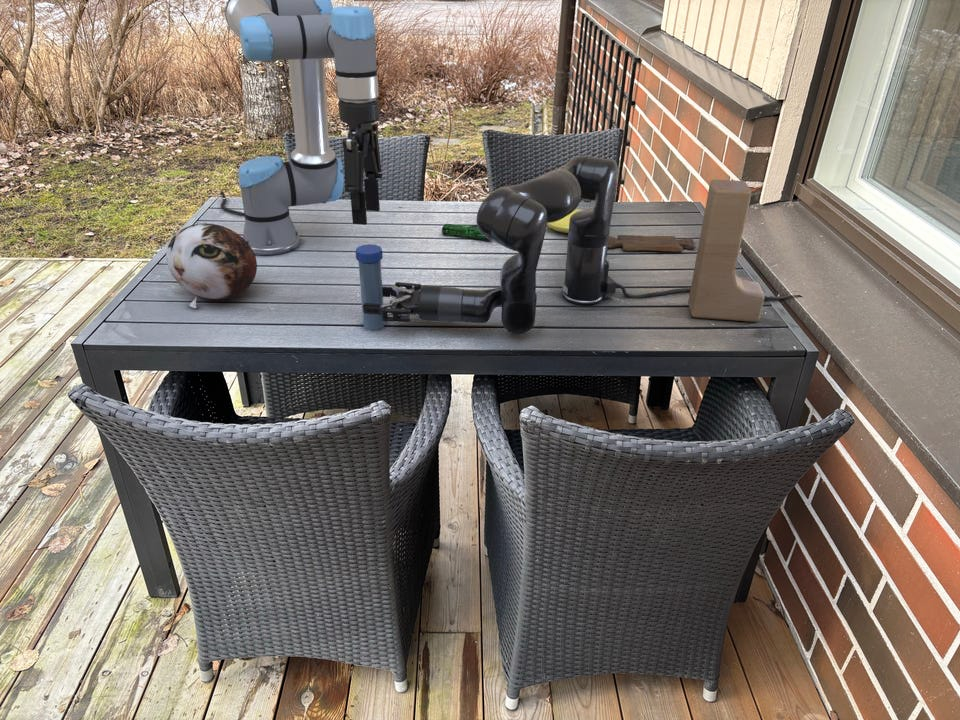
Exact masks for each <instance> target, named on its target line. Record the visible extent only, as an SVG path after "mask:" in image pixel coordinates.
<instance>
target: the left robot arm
mask: <svg viewBox="0 0 960 720" xmlns="http://www.w3.org/2000/svg"><path fill="white" fill-rule="evenodd" d="M224 17H225V21H226V24H227V26H228V27H229V29H230V30H231V32H232V33H233V34H234V35H236V36H237V37H238V38H239V41H240V44H241V50H242V53H243V57H244V58H245V60H247V61H250V62H263V63H266V62H270V61H271V62H272V61H274V62H275V61H287V62H288V63H287V64H288V73H289V74H288V75H289V85H290V95H291V107H292V118H293V119H292V120H293V130H294V141H295V148H294V149H293V150H292V151H291V152H290V161H284V160H283V158H282V157H281V156H279V155H263V156H260V157H255V158H251V159H248V160H247V161H245V162H243V163H242V164H241V165H240V166H239V168H238V170H237V174H238V186H239V188H240V194H241V195H240V196H241V201H242V207H243V212H242V211H237V210H235V209H231V208H227V207H226V206H225V204H226V202H227V200H226V194H225V192H224V191H223V190H221V191H220V192H219V195H220V196H221V197H222V201H221V203H220V208H221V209H222V210H223V211H225V212H228V213H231V214H235V215H239V216H243V217H244V219H245V220H244V226H243V228H244V229H243V235H242V237H243V238H244V239H245V240H246V241H249V242H248V244H249V245H250V247H251V248H252V250H253V252H254V254H255V256H256V255H257V256H275V255H281V254H282V255H283V254H285V253H289V252H291V251H293V250H296V249H297V248H298V247H299V246H300V244H301V241H300V235H299V233H298V231H297V229H296V227H295V225H294V223H293V220H292V218H291V216H290V207H299V206H308V205H318V204H326V203H331V202H336V201H338V200H340V198H341V196H342V194H343V190H344V192H345V193H349V194H350V205H351V218H352V219H351V221H352V224H353V225H363V226H366V225H367V224H368V219H367V218H368V217H367V216H368V215H367V211H368V212H380V211H381V208H380V192H379V191H380V190H379V179H380V180H382V179H383V173H382V163H381V153H380V144H379V125H378V124H377V122H378V121H379V120H380V117H381V116H380V115H381V114H380V102H379V100H378V99H377V98H378V97H379V95H380V94H379V78H378V68H377V66H378V65H377V64H378V63H377V45H376V31H377V30H376V28H377V27H376V26H375V19H374V12H373V10H372V9H371V8H370V7H367V6H358V5H351V6H350V5H346V6H345V5H343V6H336V7H333V3H332V0H227V2H226V4H225V9H224ZM325 59H334V66H335V75H336V76H335V79H334V81H333V82H334V84H335V85H336V89H337V97H338V98H339V101H338V102H337V105H338V116H339V117H338V118H339V120H340V122H341V123H344V124H347V125H348V131H347V137H343V138H342V140H341V142H342V148H343V162H342V160H341V158H340V157H337V156H336V155H337V154H336V152H335V151H334V150H333V149H332V148H331V147H330V135H329V120H328V119H329V118H328V102H327V87H326V86H327V85H326V83H327V82H326V70H325V69H326V67H325ZM343 164H344V165H343ZM364 174H365V175H364ZM364 176H365V178H364ZM223 198H225V199H223Z"/></svg>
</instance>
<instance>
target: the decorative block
mask: <svg viewBox="0 0 960 720" xmlns="http://www.w3.org/2000/svg"><path fill="white" fill-rule="evenodd" d="M751 197H752V190H751V188H750V187H749V185H748V184H747V182H746V181H745V180H734V179H715V178H714V179H711V180H710V182H709V185H708V191H707V195H706V203H705V207H704V213H703V219H702V223H701V224H702V225H701V230H700V234H699V241H698V246H697V252H696V257H695V263H694V268H693V269H694V270H693V274H692V279H691V284H690V285H691V286H690V288H691V290H690V292H689V295H688V301H687V304H688V307H689V311H690V315H691V317H692V318H697V319H698V318H699V319H711V320H725V321H735V322H736V321H737V322H739V321H740V322H751V323H757V322H759V321H760V319H761V314H762V310H763V306H764V302H765V299H764V298H765V297H764V296H765V294H764V291H763V289H762V287H761V285H760V283H759V282H758V281H752V280H748V279H744V278H740V277H739V276H738V275H737V274H736V267H737V263H738V258H739V253H740V250H741V249H740V248H741V244H742V239H743V234H744V231H745V227H746V226H745V225H746V220H747V217H748V211H749V205H750V202H751Z"/></svg>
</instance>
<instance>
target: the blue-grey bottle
mask: <svg viewBox="0 0 960 720" xmlns="http://www.w3.org/2000/svg"><path fill="white" fill-rule="evenodd" d="M357 262H358V273H359V274H358V275H359V287H360V288H359V289H360V300H361V312H362V313H361V314H362V325H363V328H364V329H366V330H368V331H379V330H381V329H383V328H384V327H385V325H386V321H382V317H381V315H378V314H365V313H364V312H363V305H364V303H375V304H385V303H384V297H383V287H382V286H383V276H382V275H383V272H382V271H383V269H382V259H381V260H380V261H378V262H375V263H362V262H359V261H358V260H357Z"/></svg>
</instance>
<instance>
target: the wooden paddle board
mask: <svg viewBox="0 0 960 720" xmlns="http://www.w3.org/2000/svg"><path fill="white" fill-rule="evenodd" d="M619 247H621V249H622V251H624V252H634V251H655V252H656V251H657V252H678V253H679V252H682V251H683V250H684V249H687V250H694V249H695V242H694V239H693V238H692V237H687V238H680V239H676V235H634V234H633V235H632V234H618V235H617V237H614V236H611V235H609V240H608V249H615V248H619Z"/></svg>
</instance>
